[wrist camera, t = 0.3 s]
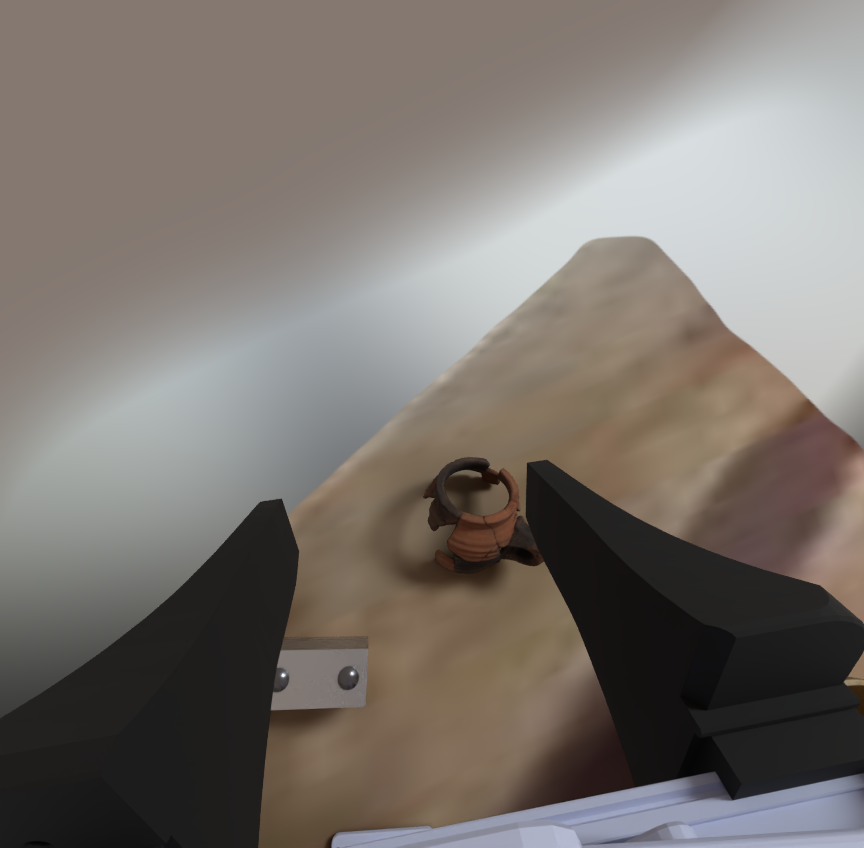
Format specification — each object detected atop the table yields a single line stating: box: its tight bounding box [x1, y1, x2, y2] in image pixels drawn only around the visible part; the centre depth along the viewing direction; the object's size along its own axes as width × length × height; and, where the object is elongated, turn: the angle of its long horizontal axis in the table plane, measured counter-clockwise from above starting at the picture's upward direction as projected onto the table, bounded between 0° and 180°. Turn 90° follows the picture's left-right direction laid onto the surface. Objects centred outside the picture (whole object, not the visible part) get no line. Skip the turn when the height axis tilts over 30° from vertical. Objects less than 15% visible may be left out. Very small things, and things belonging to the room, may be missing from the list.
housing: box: [271, 636, 368, 710], centre depth 34 cm, size 8×4×5 cm, turn 89°
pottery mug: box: [423, 457, 544, 574], centre depth 39 cm, size 12×10×8 cm
